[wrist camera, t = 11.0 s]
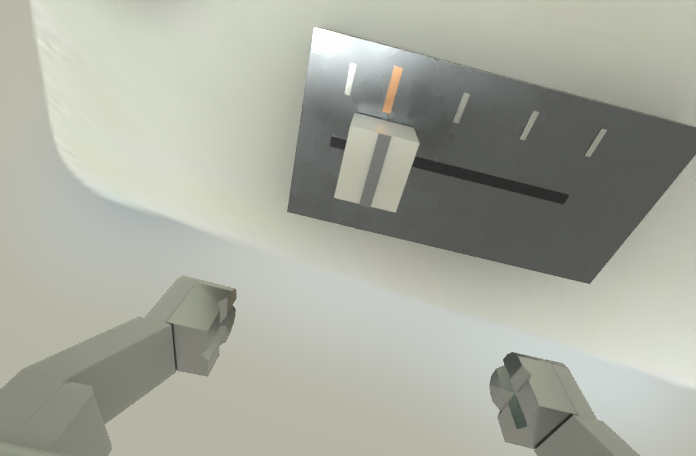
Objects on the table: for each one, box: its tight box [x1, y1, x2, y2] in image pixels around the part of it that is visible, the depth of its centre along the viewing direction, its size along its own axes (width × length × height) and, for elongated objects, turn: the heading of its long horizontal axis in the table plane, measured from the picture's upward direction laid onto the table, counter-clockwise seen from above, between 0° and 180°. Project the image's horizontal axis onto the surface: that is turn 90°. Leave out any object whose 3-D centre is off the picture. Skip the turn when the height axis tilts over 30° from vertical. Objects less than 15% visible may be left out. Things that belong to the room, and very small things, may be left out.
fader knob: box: [334, 113, 420, 213], centre depth 23 cm, size 4×5×4 cm
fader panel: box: [287, 27, 696, 284], centre depth 26 cm, size 28×14×3 cm, turn 77°
